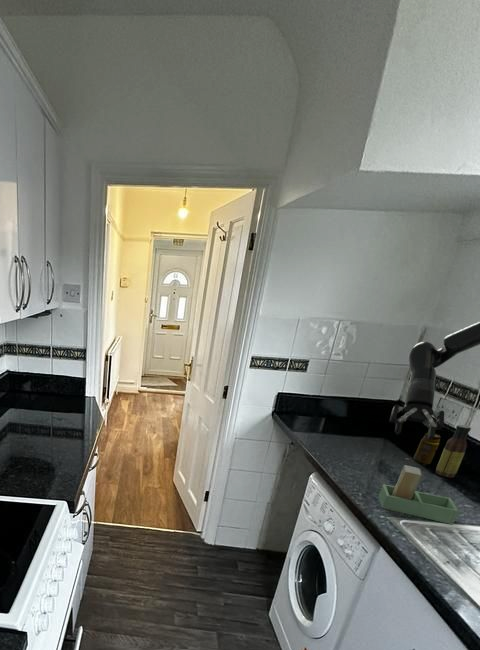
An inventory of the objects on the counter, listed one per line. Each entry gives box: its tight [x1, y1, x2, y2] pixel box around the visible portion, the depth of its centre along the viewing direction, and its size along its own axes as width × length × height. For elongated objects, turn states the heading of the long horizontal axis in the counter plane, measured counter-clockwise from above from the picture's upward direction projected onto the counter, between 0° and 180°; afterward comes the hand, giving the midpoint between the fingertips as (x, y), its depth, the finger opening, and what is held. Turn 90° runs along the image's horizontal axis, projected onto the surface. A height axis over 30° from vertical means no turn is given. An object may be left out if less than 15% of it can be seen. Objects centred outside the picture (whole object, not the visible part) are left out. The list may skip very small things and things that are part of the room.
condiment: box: [405, 432, 441, 465], centre depth 169 cm, size 7×8×12 cm
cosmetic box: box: [391, 464, 422, 500], centre depth 131 cm, size 6×4×12 cm
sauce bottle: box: [435, 424, 472, 479], centre depth 156 cm, size 7×6×20 cm
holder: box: [378, 483, 460, 525], centre depth 131 cm, size 18×10×5 cm, turn 63°
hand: (414, 436), depth 135 cm, fingers open, 8 cm apart
